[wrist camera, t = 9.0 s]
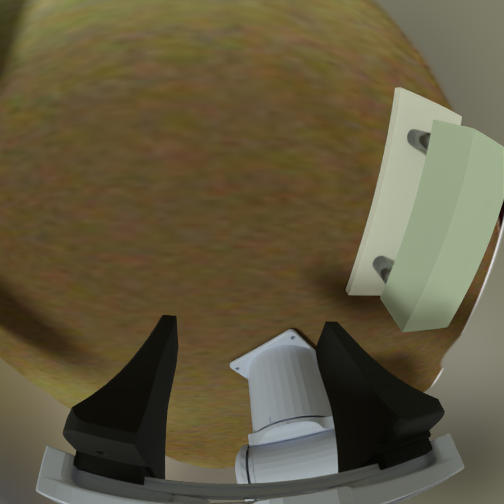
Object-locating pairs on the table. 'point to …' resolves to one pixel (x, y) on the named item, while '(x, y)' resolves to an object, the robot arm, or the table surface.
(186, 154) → the table surface
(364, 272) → the peg stand
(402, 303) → the pale green block
